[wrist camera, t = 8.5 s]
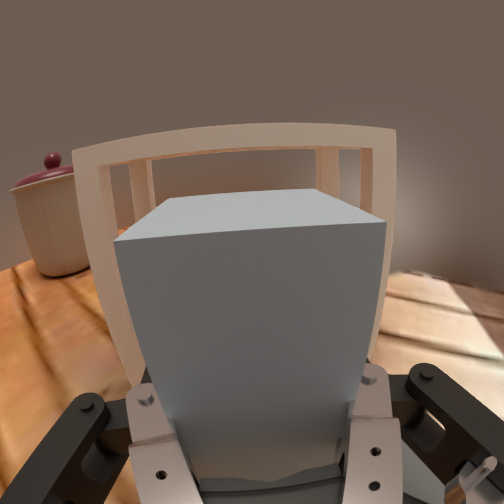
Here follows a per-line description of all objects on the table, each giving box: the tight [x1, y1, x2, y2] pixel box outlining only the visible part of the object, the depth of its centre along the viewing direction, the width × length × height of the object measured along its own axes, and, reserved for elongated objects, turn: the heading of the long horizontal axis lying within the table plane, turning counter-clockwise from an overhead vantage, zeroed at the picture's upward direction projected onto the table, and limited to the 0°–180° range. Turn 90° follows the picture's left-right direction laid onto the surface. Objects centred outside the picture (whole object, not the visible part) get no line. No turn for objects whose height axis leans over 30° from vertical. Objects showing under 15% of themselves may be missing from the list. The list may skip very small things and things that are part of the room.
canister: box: [10, 152, 90, 277], centre depth 41 cm, size 18×18×21 cm
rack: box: [72, 123, 396, 388], centre depth 21 cm, size 11×18×17 cm, turn 94°
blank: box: [113, 189, 387, 482], centre depth 9 cm, size 5×5×13 cm
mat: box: [401, 439, 445, 504], centre depth 11 cm, size 9×9×1 cm
